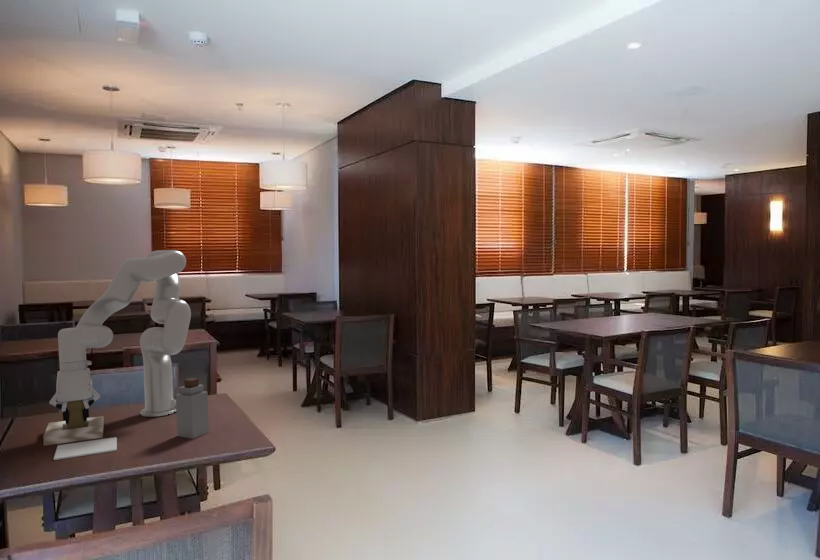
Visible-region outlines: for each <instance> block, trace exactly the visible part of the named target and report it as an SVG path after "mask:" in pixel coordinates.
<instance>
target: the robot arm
mask: <svg viewBox="0 0 820 560" xmlns="http://www.w3.org/2000/svg"><path fill="white" fill-rule="evenodd" d="M186 265H187V258H186V256H185V255H184V253H182V251H179V250H176V249H163V250H162V249H161V250H160V249H159V250H158V249H157V250H153V251H151V252H149V253H148V254H147V256H146V257H130V258H127V259H126V260H124V261H123V262H122V263H121V265H120V266H119V268H118V270H117V271H116V273H115V275H114V277H113V278H112V280H111V281H110V283H109V284H108V287H107V289H106V290H105V292H104V293H103V294H102V295H101V296H100V297H99V298H97V299H96V300H95V302H93V303H92V304H91V305H90V306H88V308H87V309H86V311H85V312H84V313H83V315H82V316H81V317H80V319H79V321H78V323H77V325H76V326H75V327H67V328H61V329H60V330H59V331H58V333H57V342H58V358H59V370H58V371H57V373H56V382H55V383H56V384H55V385H56V386H55V387H56V388H55V389H56V391H55V393H54V395H53V396H52V397H51V399H50V400H49V404H50V405H52V406H53V407H56V408H57V409H58V410H59V411H61V412H62V421H66V424H68V411H69V410H68V409H67V402H72V401H81V400H83V403H84V408H83V411H84V421H87V418H90V410H89V408H91V406H92V405H94V403H95V402H97V400H99V399H100V398H101V395H100V394H99V392H98V391H96V389H94V387H93V378H92V372H91V369H90V368H89V367H88V366H92V360H88V359H87V349H98V348H99V349H101V348H105V347H107V346H108V345H110V344H111V343H112V341H113V340H114V339H113V338H114V332H113V331H112V329H111V328H110V327H108V326H107V325H103V323H104V322H105V321H106V320H107V319H108V318H109V317H110V316H111V315H113V314H114V313H116V312H118V311H120V310H122V309H124V308H125V307H127V306H128V305H130V304H131V301H132V300H133V297H134V296H135V294H136V293H137V291H138V289H139V288H140V285H141V284H142V283H149V282H150V283H151V282H153V281H156V284H155V285H156V286H155V293H154V297H153V301H152V304H151V309H150V318H151V320H152V321H154V322H155V323H157V324H160V325H163V327H161V326H153V327H149V328H146V329H145V330H144V331H143V332H142V334H141V336H140V337H139V345H140V347H139V348H140V350H141V351H140V352H141V354H142V360H143V361H142V362H143V385H144V387H143V389H144V408H143V409H141V410H140V415H141V417H146V418H147V417H149V418H152V417H153V418H155V417H164V416H168V414H169V415H172V414H174V412H175V413H176V399H175V398H174V394H173V391H174V390H173V364H172V363H173V362H172V359H171V356H175V355H178V354H179V353H181V351H182V350H183V348H184V347H185V344H186V342H187V341H186V340H187V336H188V332H189V327H190V323H191V317H192V310H191V307H190V305H189V304H188V303H187V302H186V301H185V300H184V299H180V295H181V290H182V284H181V283H182V282H181V278H180V276H179V273H181V272H182V271H183V270H184V269H185V268H186Z"/></svg>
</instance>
